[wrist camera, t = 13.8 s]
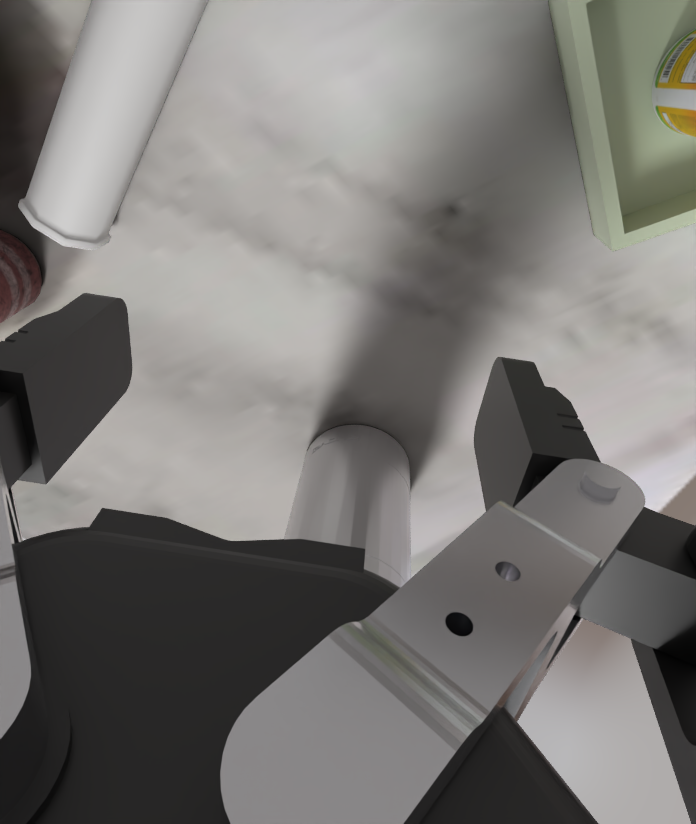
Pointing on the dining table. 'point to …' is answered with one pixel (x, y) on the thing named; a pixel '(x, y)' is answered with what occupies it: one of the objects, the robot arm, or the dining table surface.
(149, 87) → the tube
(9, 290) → the can
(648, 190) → the bin
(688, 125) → the supplement bottle
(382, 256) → the dining table surface
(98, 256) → the dining table surface
